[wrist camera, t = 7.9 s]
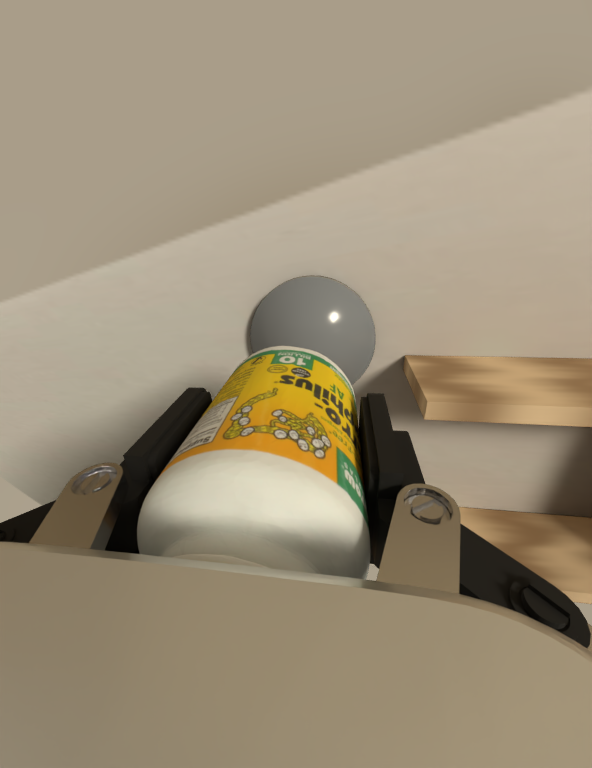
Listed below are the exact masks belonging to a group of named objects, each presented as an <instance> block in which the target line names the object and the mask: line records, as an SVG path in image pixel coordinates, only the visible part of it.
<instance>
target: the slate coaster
mask: <svg viewBox="0 0 592 768" xmlns="http://www.w3.org/2000/svg"><path fill="white" fill-rule="evenodd" d="M250 336H251V346H252V351H253V354H254V353H256V352H258V351H260V350H262V349H265V348H269V347H275V346H292V347H299V348H304V349H309V350H312V351H316V352H318V353H320V354H322V355H324V356H326V357H327V358H329V359H330V360H331V361H332V362H334V363H335V364H336V365H337V366H338V367H339V368H340V369H341V370H342V371H343V373H344V374H345V375H346V377H347V378H348V380H349V381H350V383H351V385H352V384H354V383H355V382H356V381H357V380H358V379H359V378H360V377H361V376H362V375H363V373H364V372H365V371H366V369H367V368H368V366H369V364H370V362H371V359H372V357H373V353H374V349H375V336H376V335H375V327H374V323H373V320H372V317H371V314H370V312H369V310H368V308H367V306H366V304H365V303H364V301H363V300H362V299H361V298H360V296H359V295H358V294H357V293H356V292H355V291H353V290H352V289H351V288H350V287H348V286H347V285H345V284H343V283H341V282H339V281H337V280H334V279H332V278H328V277H323V276H312V275H311V276H302V277H297V278H294V279H291V280H288V281H286V282H284V283H282V284H280V285H279V286H277V287H276V288H275V289H273V290H272V291H271V292H270V293H269V294H268V295H267V296H266V297H265V298H264V299H263V301H262V302H261V303H260V305H259V307H258V308H257V310H256V312H255V315H254V317H253V321H252V325H251V333H250Z"/></svg>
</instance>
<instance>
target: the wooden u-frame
mask: <svg viewBox="0 0 592 768" xmlns="http://www.w3.org/2000/svg"><path fill="white" fill-rule="evenodd" d="M403 370H404V373H405V375H406V377H407V380H408V382H409V385H410V387H411V389H412V392H413V394H414V396H415V399H416V401H417V403H418V406H419V408H420V410H421V413H422V415H423V418H424V419H425V420H448V421H470V422H492V423H514V424H537V425H559V426H581V427H592V359H579V358H524V357H468V356H412V355H405V359H404V367H403ZM459 510H460V515H461V520H460V523H461V524H462V525H464V526H465V527H467V528H468V529H470V530H471V531H473V532H474V533H476V534H477V535H479V536H480V537H482V538H483V539H485V540H486V541H488V542H489V543H491V544H492V545H494V546H495V547H497V548H498V549H500V550H501V551H503V552H504V553H506V554H507V555H509V556H510V557H512V558H513V559H515V560H516V561H518V562H519V563H521V564H522V565H524V566H525V567H527V568H528V569H530V570H531V571H533V572H534V573H536V574H537V575H539V576H540V577H542V578H543V579H545V580H546V581H548V582H549V583H551V584H552V585H554V586H555V587H557V588H558V589H559V590H560V591H562V592H563V593H564V594H566V595H567V596H568V597H569V598H570V599H571V600H572V601H573V602H579V603H587V604H592V518H588V517H575V516H563V515H550V514H538V513H526V512H513V511H501V510H488V509H476V508H464V507H459Z"/></svg>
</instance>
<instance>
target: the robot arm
mask: <svg viewBox="0 0 592 768" xmlns="http://www.w3.org/2000/svg"><path fill="white" fill-rule="evenodd" d="M211 403H212V399H211V394H210V393H209V392H206V390H205V389H204V388H188V389H187V390H186V391H185V392H184V393H183V394H182V395H181V396H180V397H179V398H178V399H177V400H176V401H175V402H174V403H173V404H172V405H171V406H170V407H169V408H168V409H167V410H166V411H165V413H164V414H163V415H162V416H161V417H160V418H159V419H158V420H157V421H156V422H155V423H154V424H153V425H152V426H151V427H150V428H149V429H148V430H147V431H146V432H145V433H144V434H143V435H142V437H141V438H140V439H139V440H138V441H137V442H136V443H135V444H134V445H133V446H132V447H131V448H130V449H129V450H128V451H127V452H126V453H125V454H124V455H123V456H124V459H125V460H124V461H123V462H122V463H121V464H120V465H118V464H116V463H101V464H97V465H94V466H91V467H88V468H86V469H84V470H83V471H81V472H79V473H78V474H76V475H75V476H74V477H73V478H71V480H70V481H69V482H68V483H67V484H66V486H65V488H64V489H63V491H62V492H61V494H60V495H59V497H58V498H57V500H55V501H53V502H50V503H48V504H45V505H43V506H41V507H38V508H36V509H33V510H31V511H29V512H26V513H24V514H21V515H19V516H17V517H14V518H12V519H9V520H7V521H4V522H2V523H0V768H592V626H591V625H589V624H588V623H587V621H586V619H585V617H584V616H583V614H582V613H581V611H580V609H579V608H578V607H577V606H576V605H575V604H574V603H573V601H572V600H571V599H570V598H569V597H568V596H567V595H566V594H564V593H563V592H562V591H560V590H559V589H558V588H557V587H555V586H554V585H552V584H551V583H549V582H548V581H546V580H545V579H543V578H542V577H540V576H539V575H537V574H536V573H534V572H533V571H531V570H530V569H528V568H527V567H525V566H524V565H522V564H521V563H519V562H518V561H516V560H515V559H513V558H512V557H510V556H509V555H507V554H506V553H504V552H503V551H501V550H500V549H498V548H497V547H495V546H494V545H492V544H491V543H489V542H488V541H486V540H485V539H483V538H482V537H480V536H479V535H477V534H476V533H474V532H473V531H471V530H470V529H468V528H467V527H465V526H464V525H462V524H461V523H460V520H461V515H460V510H459V507H458V505H457V503H456V502H455V500H454V499H453V498H452V497H451V496H450V495H449V494H447V493H446V492H444V491H443V490H441V489H439V488H437V487H434V486H431V485H427V484H425V481H424V478H423V475H422V472H421V469H420V466H419V463H418V460H417V457H416V454H415V451H414V448H413V445H412V442H411V439H410V436H409V433H408V432H407V431H393V429H392V425H391V421H390V417H389V413H388V409H387V405H386V401H385V397H384V394H375V393H367V397H361V403H360V417H359V438H360V445H361V458H362V469H363V478H364V487H365V497H366V506H367V515H368V525H369V534H370V564H374V565H375V566H376V567H377V568H379V572H378V576H377V580H376V581H372V580H364V579H357V578H349V577H340V576H331V575H323V574H314V573H305V572H297V571H288V570H279V569H270V568H262V567H253V566H244V565H235V564H226V563H217V562H207V561H198V560H189V559H180V558H171V557H161V556H152V555H143V554H140V553H139V549H138V542H137V526H138V518H139V514H140V511H141V508H142V505H143V502H144V500H145V498H146V496H147V494H148V492H149V491H150V489H151V487H152V486H153V484H154V483H155V481H156V480H157V479H158V477H159V476H160V474H161V473H162V471H163V470H164V469H165V467H166V466H167V464H168V463H169V462H170V460H171V459H172V457H173V456H174V455H175V453H176V452H177V450H178V449H179V448H180V446H181V445H182V444H183V442H184V441H185V439H186V438H187V437H188V435H189V434H190V432H191V431H192V429H193V428H194V427H195V425H196V424H197V422H198V421H199V420H200V418H201V417H202V416H203V414H204V413H205V411H206V410H207V408H208V407H209V406H210V404H211Z"/></svg>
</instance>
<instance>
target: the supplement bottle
mask: <svg viewBox="0 0 592 768" xmlns="http://www.w3.org/2000/svg"><path fill="white" fill-rule="evenodd" d="M137 542H138V549H139V553H140V554H143V555H152V556H161V557H171V558H180V559H189V560H198V561H207V562H217V563H226V564H235V565H244V566H253V567H262V568H270V569H279V570H288V571H297V572H305V573H314V574H323V575H331V576H340V577H349V578H357V579H364V580H366V577H367V574H368V570H369V564H370V534H369V525H368V515H367V506H366V497H365V487H364V478H363V469H362V458H361V445H360V438H359V428H358V419H357V408H356V401H355V395H354V391H353V388H352V385H351V383H350V381H349V380H348V378H347V377H346V375H345V374H344V373H343V371H342V370H341V369H340V368H339V367H338V366H337V365H336V364H335V363H334V362H332V361H331V360H330V359H329V358H327V357H326V356H324V355H322V354H320V353H318V352H316V351H312V350H309V349H304V348H299V347H292V346H275V347H269V348H265V349H262V350H260V351H258V352H256V353H254V354H252V355H251V356H249V357H248V358H247V359H245V360H244V361H243V362H242V363H241V364H240V365H239V366H238V367H237V368H236V370H235V371H234V372H233V374H232V375H231V376H230V378H229V379H228V381H227V382H226V383H225V385H224V386H223V388H222V389H221V390H220V392H219V393H218V395H217V396H216V397H215V399H214V400H213V401H212V403H211V404H210V406H209V407H208V408H207V410H206V411H205V413H204V414H203V416H202V417H201V418H200V420H199V421H198V422H197V424H196V425H195V427H194V428H193V429H192V431H191V432H190V434H189V435H188V437H187V438H186V439H185V441H184V442H183V444H182V445H181V446H180V448H179V449H178V450H177V452H176V453H175V455H174V456H173V457H172V459H171V460H170V462H169V463H168V464H167V466H166V467H165V469H164V470H163V471H162V473H161V474H160V476H159V477H158V479H157V480H156V481H155V483H154V484H153V486H152V487H151V489H150V491H149V492H148V494H147V496H146V498H145V500H144V502H143V505H142V508H141V511H140V514H139V518H138V526H137Z"/></svg>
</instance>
